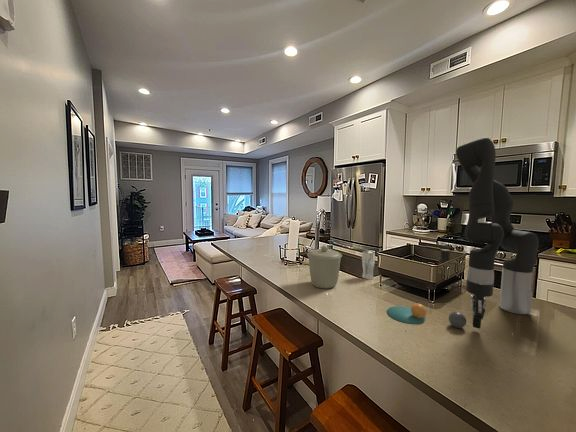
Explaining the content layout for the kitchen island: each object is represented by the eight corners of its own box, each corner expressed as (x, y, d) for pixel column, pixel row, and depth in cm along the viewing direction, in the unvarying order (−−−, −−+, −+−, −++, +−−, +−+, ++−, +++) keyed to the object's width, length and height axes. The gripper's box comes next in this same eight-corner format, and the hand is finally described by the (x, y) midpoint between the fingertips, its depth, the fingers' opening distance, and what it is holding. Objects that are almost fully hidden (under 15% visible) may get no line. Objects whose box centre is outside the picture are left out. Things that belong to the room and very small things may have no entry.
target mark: (426, 311, 105) (426, 311, 105) (423, 327, 93) (423, 327, 93) (390, 303, 112) (390, 303, 112) (383, 317, 100) (383, 317, 100)
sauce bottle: (453, 291, 126) (455, 251, 124) (439, 290, 127) (441, 251, 125) (447, 286, 132) (450, 248, 130) (434, 285, 134) (436, 248, 132)
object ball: (416, 298, 103) (409, 308, 105) (414, 303, 98) (407, 314, 100) (430, 307, 100) (422, 317, 102) (428, 313, 96) (420, 323, 98)
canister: (346, 282, 138) (347, 244, 136) (333, 294, 123) (334, 251, 120) (316, 276, 147) (316, 241, 145) (300, 287, 132) (300, 247, 130)
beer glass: (374, 276, 148) (375, 251, 146) (374, 280, 141) (375, 253, 140) (361, 275, 150) (362, 250, 149) (361, 279, 144) (361, 252, 142)
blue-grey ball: (451, 306, 96) (445, 318, 97) (453, 312, 91) (446, 325, 93) (468, 314, 94) (461, 326, 95) (470, 321, 89) (463, 333, 90)
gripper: (465, 272, 96) (462, 316, 98) (468, 283, 85) (464, 332, 87) (490, 276, 92) (487, 321, 94) (497, 288, 81) (492, 339, 83)
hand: (476, 326), depth 91 cm, fingers closed
